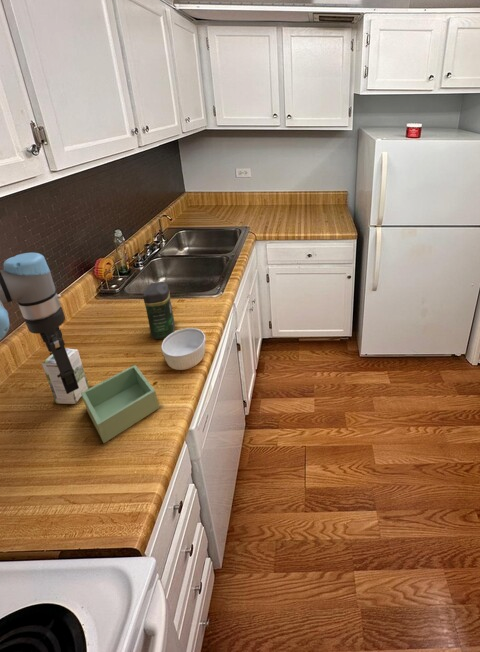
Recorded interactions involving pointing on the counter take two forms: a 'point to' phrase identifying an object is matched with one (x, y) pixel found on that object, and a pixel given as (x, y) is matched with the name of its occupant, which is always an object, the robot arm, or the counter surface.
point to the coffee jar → (159, 310)
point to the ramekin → (184, 348)
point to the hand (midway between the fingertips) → (67, 379)
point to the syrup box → (57, 384)
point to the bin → (120, 402)
